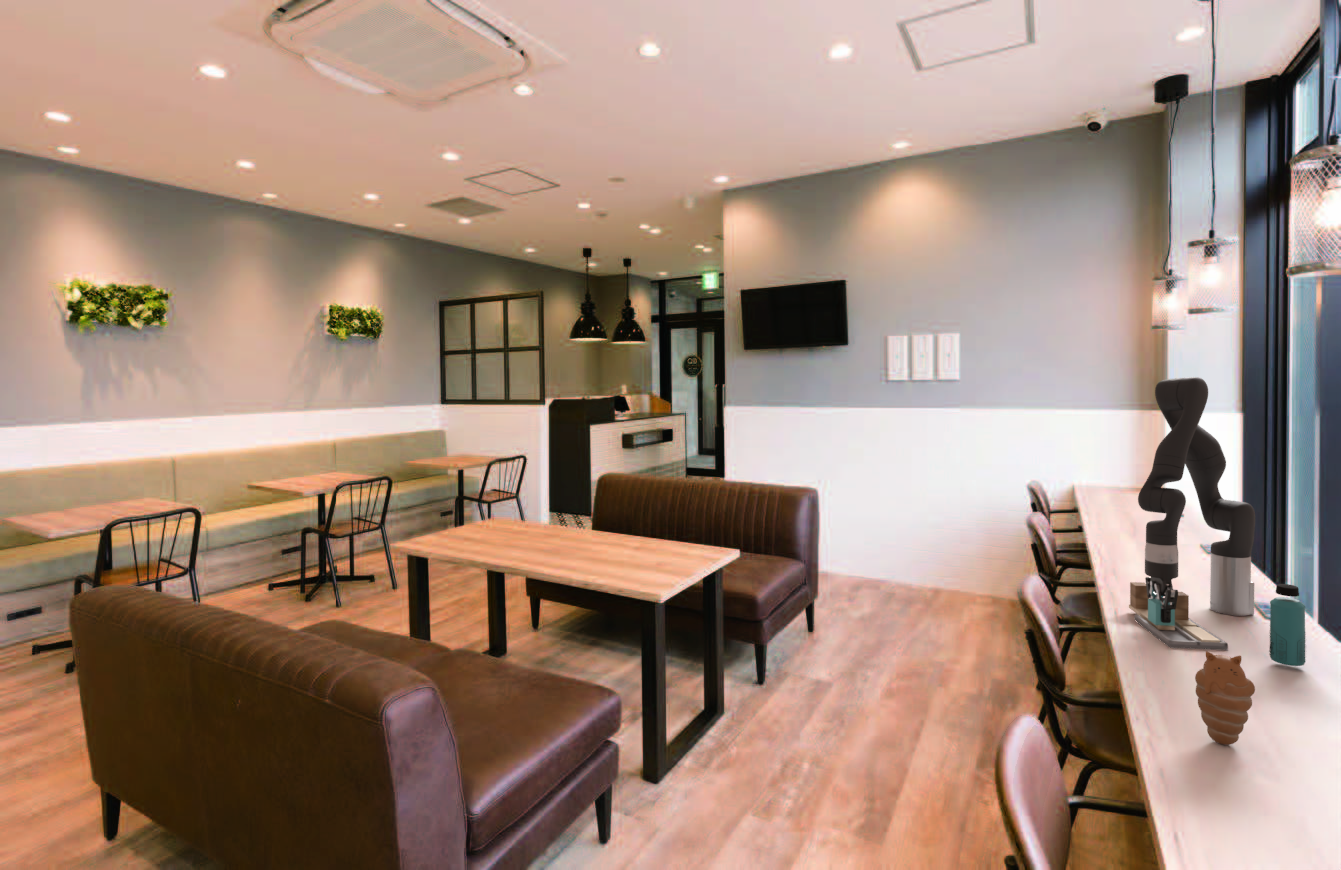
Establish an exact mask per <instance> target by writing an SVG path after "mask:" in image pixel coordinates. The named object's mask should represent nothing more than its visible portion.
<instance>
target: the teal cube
mask: <svg viewBox="0 0 1341 870" xmlns="http://www.w3.org/2000/svg"><path fill="white" fill-rule="evenodd" d="M1148 620H1149V621H1151V622H1152V623H1153V624H1155V625H1166V626H1175V609H1172V610H1171V622H1170V623H1163V622H1161V607H1160V601H1159V600H1158V599H1150V598H1149V599H1148Z"/></svg>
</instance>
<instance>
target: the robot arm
mask: <svg viewBox="0 0 1341 870" xmlns="http://www.w3.org/2000/svg"><path fill="white" fill-rule="evenodd" d="M1154 396H1155V401H1156V403H1157V405H1158V409H1159V410H1160V412H1161V413H1162V416H1163V417H1164V419H1165V421H1166V422H1167V424H1168V426H1169V428H1170V431H1169V432H1168V433H1167V434H1166V436H1164V437H1163V439H1162V440H1161V441H1160V443H1159V444H1158V446H1157V448H1156V450H1155V454H1154V458H1153V463H1152V469H1151V472H1149V475H1148V477H1147V479H1146V481H1145V482H1144V484H1143V485H1142V487H1141V488H1140V491H1139V494H1138V496H1137V503H1138V506H1139V508H1141V510H1143V511H1145V512H1149V513H1159V514H1165V516H1164V519H1161V520H1157V519H1156V520H1151V521H1150V520H1149V521H1148V522H1147V523H1146V525H1145V546H1144V547H1145V548H1144V574H1145V575H1146V576H1145V578H1144V579H1145V584H1146V588H1147V597H1148V598H1149V599H1158V600H1159V601H1160V607H1161V622H1163V623H1170V622H1171V610H1172V609H1176V604H1177V598H1178V592H1179V590H1178V589H1174V586H1173V583H1172V580H1173V579H1176V578H1178V577H1179V547H1178V529H1179V524H1180V521H1181V518H1182V516H1183V512H1184V511H1185V509H1186V508H1185V507H1186V503H1187V502H1186V501H1187V500H1186V499H1187V498H1186V496H1185V494H1184V493H1183V491H1182V490H1180V489H1178V488H1170V487H1163V485H1165V484H1167V483H1168V484H1169V483H1174V482H1179V481H1181V480H1182V478H1183V475H1184V472H1185V471H1184V470H1185V467H1186V469H1187V471H1188V472H1189V474H1190V477H1191V480H1192V483H1193V486H1194V488H1195V491H1196V494H1197V499H1198V501H1199V506H1200V511H1201V514H1202V516H1203V520H1204V522H1205V524H1206V525H1207V526H1208V527H1210V528H1211V529H1214V530H1217V531H1223V532H1229V536H1228V539H1227V540H1219V541H1215V542H1214V541H1213V542H1212V543H1211V545H1210V576H1209V577H1210V579H1209V580H1210V583H1209V584H1210V588H1209V589H1210V592H1209V593H1210V596H1209V597H1210V599H1209V608H1210V610H1211V611H1213V612H1215V613H1219V614H1222V615H1228V616H1238V617H1239V616H1240V617H1241V616H1242V617H1243V616H1249V615H1250V616H1251V615H1255V582H1253V581H1252V579H1251V578H1252V566H1251V565H1252V551H1253V546H1254V542H1255V529H1256V513H1255V508H1254V507H1253V506H1252V504H1250V503H1248V502H1245V501H1238V500H1237V501H1236V500H1231V499H1230V500H1229V499H1224V498H1223V497H1222V495H1221V492H1220V490H1219V482H1220V480H1221V478H1222V477H1223V474H1224V472H1225V471H1226V466H1227V460H1226V456H1225V455H1224V451H1223V449H1222V446H1221V445H1220V443H1219V441H1218V440H1217V439H1216V438H1215V437H1214V436H1213V435H1212V434H1211V433H1209V432H1208V431H1207V430H1205V428H1203V427H1201V426H1200V425H1199V423H1200V421H1201V418H1202V416H1203V413H1204V411H1205V408H1206V405H1207V401H1208V397H1209V388H1208V384H1207V382H1206V381H1205V380H1204V379H1203V378H1202V377H1199V376H1187V377H1178V378H1177V377H1176V378H1167V379H1166V378H1165V379H1162V380H1160V381H1159V382H1158V383H1156V385H1155V390H1154Z"/></svg>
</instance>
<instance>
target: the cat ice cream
mask: <svg viewBox="0 0 1341 870" xmlns="http://www.w3.org/2000/svg"><path fill="white" fill-rule="evenodd" d="M1205 657H1206V660H1205V661H1204V663H1203V666H1202V667H1203V668H1201V669H1199V670H1197V672H1196V673H1195V675H1194V680H1195V682H1196V686H1195V694H1196V697H1197V705H1198V707H1199V709H1200V716H1201V719H1202V721H1203V723H1204V724H1205V726H1207V727H1206V728H1207V729H1206V731H1207V734H1208V736H1209V738H1211V740H1213V741H1214V742H1215V743H1217V744H1220V745H1223V746H1226V745H1228V746H1230V745H1233V744H1236V743H1237V742H1238V740H1239V738H1240V737H1239V736H1240V734H1241V733H1242V732H1243V730H1244V724H1247V722H1248V720H1249V713H1248V711H1250V709H1251V708H1252V707H1253V700H1252V696H1253V695H1254V694H1255V691H1256V686H1255V684H1254V682H1252V681H1251V680H1250V679H1249V678H1248V677H1246V673H1245V671H1244V670H1243V668H1242V666H1241V663H1242V655H1235V656H1233V657H1230V656H1228V655H1223V654H1213V653H1211V652H1210V651H1207V650H1206V651H1205Z"/></svg>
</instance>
